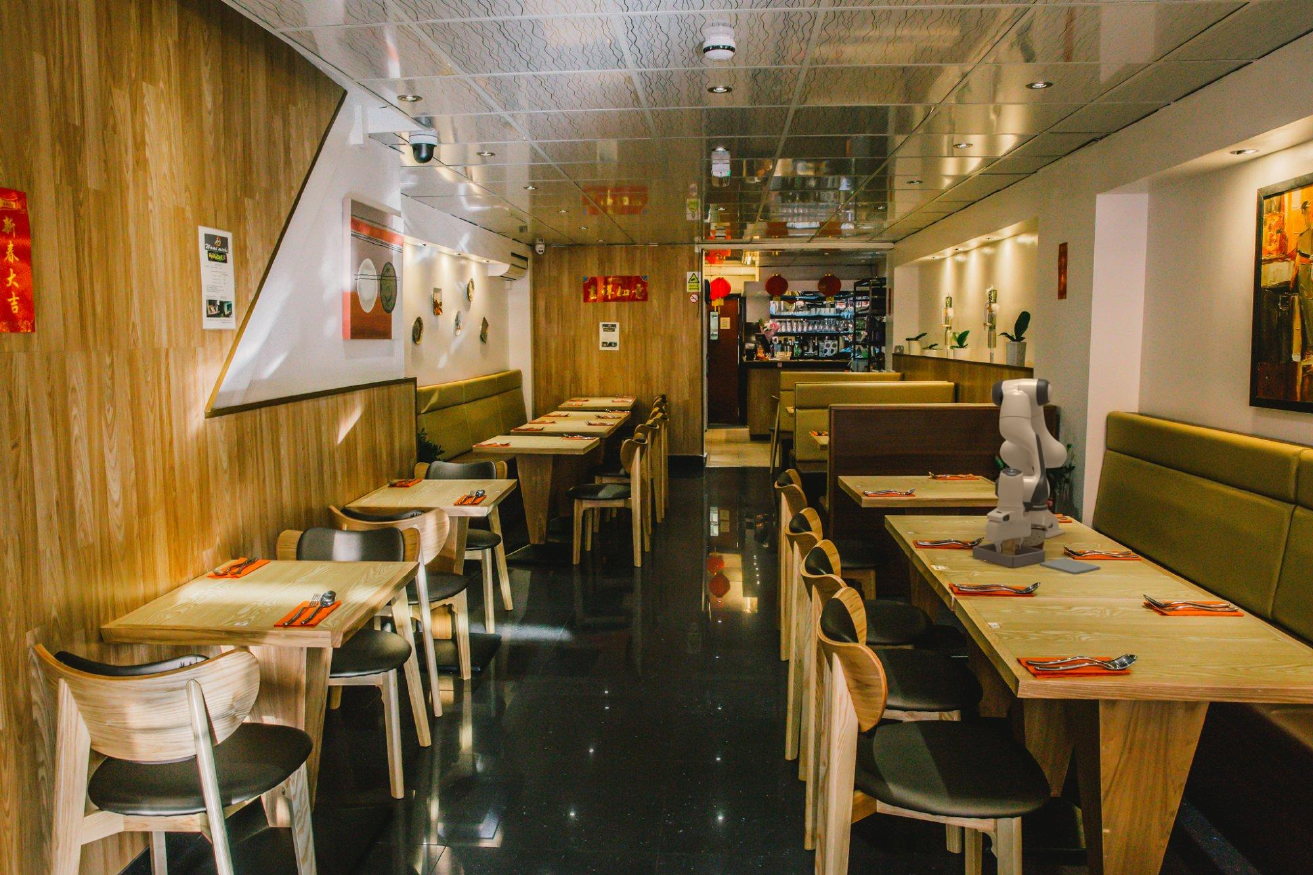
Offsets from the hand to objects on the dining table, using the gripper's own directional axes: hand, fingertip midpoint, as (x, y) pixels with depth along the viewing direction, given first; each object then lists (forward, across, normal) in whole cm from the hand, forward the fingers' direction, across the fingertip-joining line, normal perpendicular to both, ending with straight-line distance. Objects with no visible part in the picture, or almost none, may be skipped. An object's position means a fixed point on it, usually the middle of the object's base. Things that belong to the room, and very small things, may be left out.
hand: (1008, 550), depth 323 cm
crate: (+3, 0, 0) cm, 3 cm away
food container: (+4, -18, -6) cm, 19 cm away
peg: (+3, 0, 0) cm, 3 cm away
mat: (+3, -10, +18) cm, 21 cm away
